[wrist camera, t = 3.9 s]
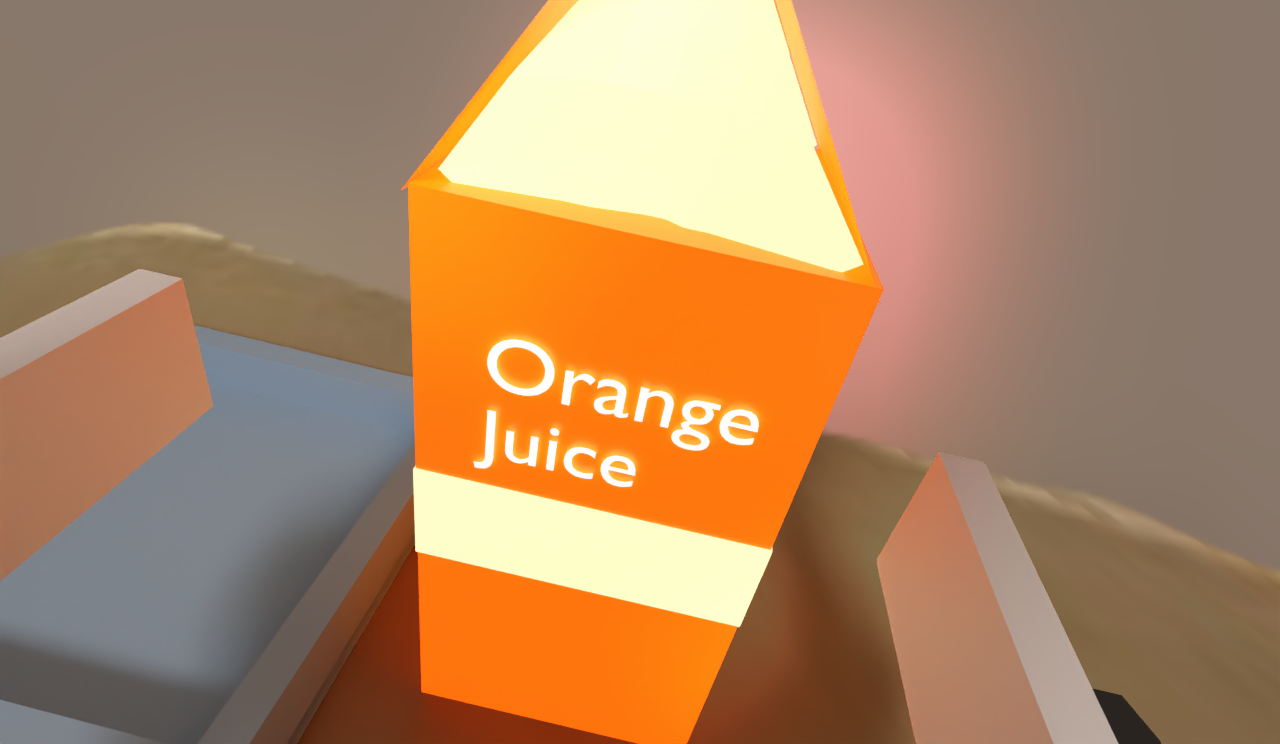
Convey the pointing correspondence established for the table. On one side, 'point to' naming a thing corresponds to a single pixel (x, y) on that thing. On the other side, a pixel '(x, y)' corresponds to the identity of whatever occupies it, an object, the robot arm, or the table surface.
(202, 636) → the dish
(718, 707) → the table surface
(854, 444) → the table surface
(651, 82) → the orange juice
